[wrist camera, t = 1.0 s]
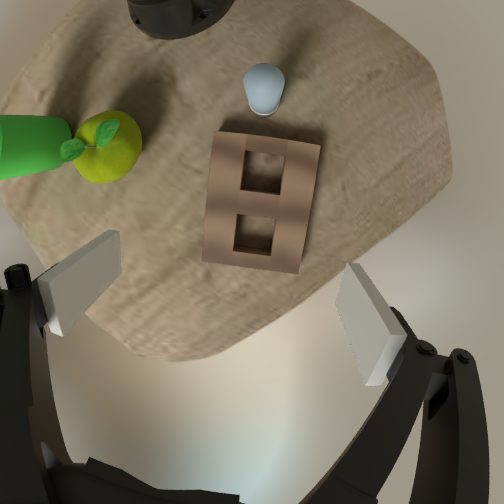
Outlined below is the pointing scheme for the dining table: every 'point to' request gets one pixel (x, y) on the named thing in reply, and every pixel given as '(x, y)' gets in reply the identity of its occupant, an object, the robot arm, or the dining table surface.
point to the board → (258, 202)
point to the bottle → (31, 144)
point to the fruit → (104, 146)
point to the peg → (264, 88)
